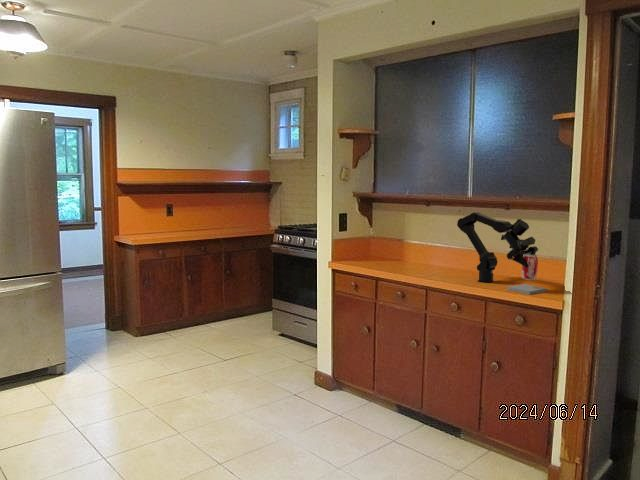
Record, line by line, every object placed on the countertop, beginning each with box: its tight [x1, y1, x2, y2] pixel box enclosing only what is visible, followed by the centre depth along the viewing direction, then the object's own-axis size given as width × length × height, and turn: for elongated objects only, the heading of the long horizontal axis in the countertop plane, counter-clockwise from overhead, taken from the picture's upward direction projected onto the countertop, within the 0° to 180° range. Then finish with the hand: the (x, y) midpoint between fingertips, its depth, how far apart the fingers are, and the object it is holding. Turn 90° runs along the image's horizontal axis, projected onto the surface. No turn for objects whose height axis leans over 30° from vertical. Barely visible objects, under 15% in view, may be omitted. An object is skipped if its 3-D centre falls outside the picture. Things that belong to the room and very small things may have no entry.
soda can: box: [521, 254, 539, 281], centre depth 259 cm, size 7×7×12 cm
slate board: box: [506, 283, 548, 295], centre depth 260 cm, size 13×13×2 cm
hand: (532, 266), depth 258 cm, fingers closed on soda can, 7 cm apart
